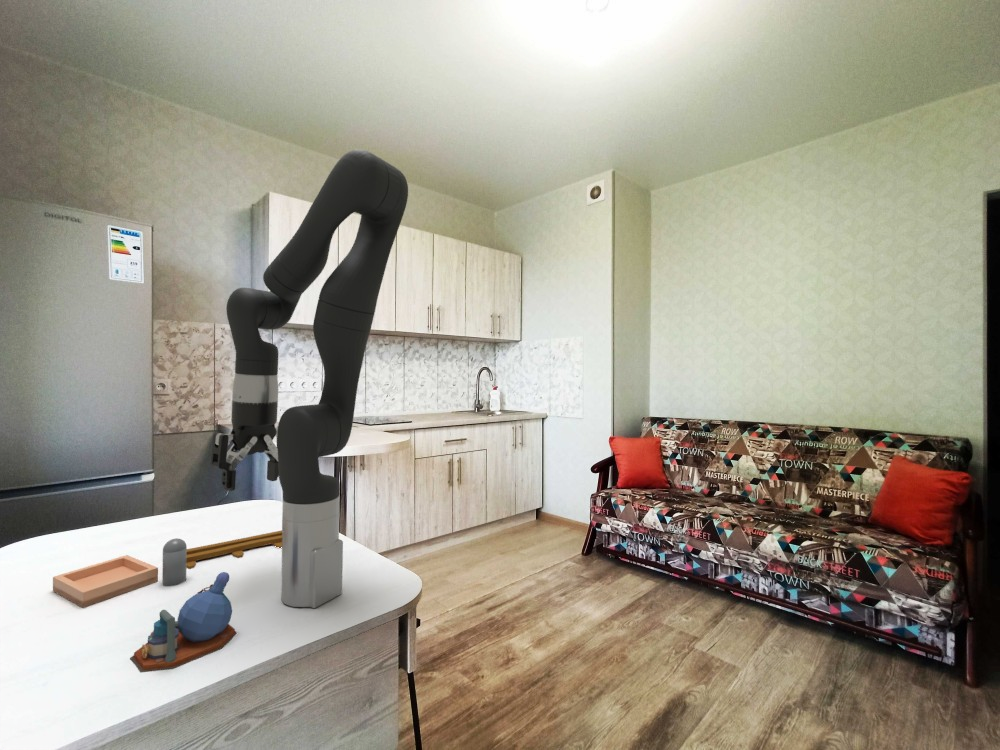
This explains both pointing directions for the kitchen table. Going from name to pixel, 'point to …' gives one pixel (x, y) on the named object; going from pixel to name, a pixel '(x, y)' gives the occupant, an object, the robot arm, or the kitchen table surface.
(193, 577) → the kitchen table surface
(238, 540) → the decorative fence
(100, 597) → the dish
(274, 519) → the kitchen table surface
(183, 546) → the plug
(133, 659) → the model
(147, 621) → the kitchen table surface
